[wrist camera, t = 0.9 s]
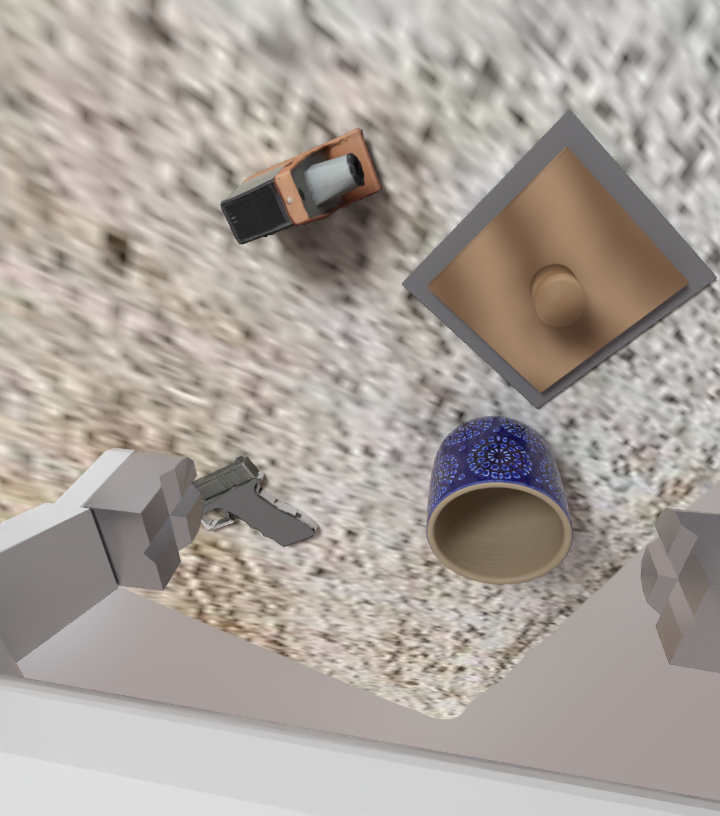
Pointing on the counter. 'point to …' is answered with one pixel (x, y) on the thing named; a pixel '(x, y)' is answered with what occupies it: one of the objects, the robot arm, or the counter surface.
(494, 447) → the planter
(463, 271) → the lid
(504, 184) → the mat
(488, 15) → the counter surface
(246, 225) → the electronic device
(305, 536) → the handgun
